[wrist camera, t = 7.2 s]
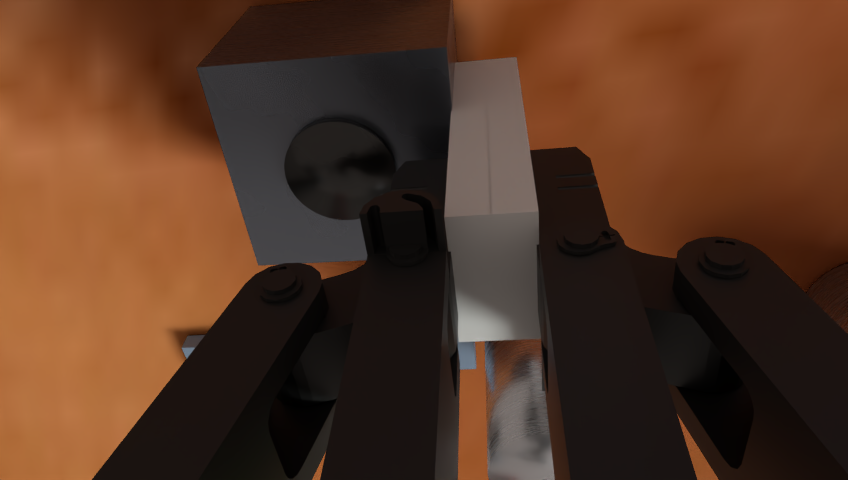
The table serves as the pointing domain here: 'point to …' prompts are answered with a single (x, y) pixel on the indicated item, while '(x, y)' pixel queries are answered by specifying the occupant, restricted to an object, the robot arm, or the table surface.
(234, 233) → the table surface
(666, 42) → the table surface
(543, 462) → the spacers
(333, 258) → the speaker
